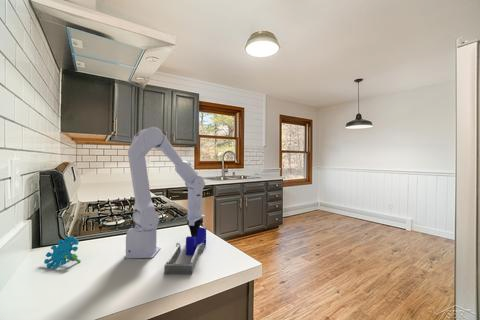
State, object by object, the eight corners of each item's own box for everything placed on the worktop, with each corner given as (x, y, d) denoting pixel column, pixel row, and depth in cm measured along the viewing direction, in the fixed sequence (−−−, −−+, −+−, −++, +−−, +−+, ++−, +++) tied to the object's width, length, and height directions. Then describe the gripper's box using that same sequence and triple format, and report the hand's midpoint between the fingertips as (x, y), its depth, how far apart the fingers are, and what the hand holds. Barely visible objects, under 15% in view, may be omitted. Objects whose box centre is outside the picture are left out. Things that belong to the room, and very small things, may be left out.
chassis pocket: (160, 274, 65) (160, 264, 65) (176, 249, 82) (176, 241, 82) (195, 274, 65) (195, 264, 65) (203, 249, 83) (203, 242, 83)
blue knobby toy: (36, 260, 69) (63, 231, 75) (50, 267, 73) (75, 239, 79) (56, 273, 65) (84, 241, 71) (71, 279, 69) (96, 249, 75)
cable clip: (195, 241, 90) (195, 226, 90) (206, 242, 89) (206, 227, 89) (181, 254, 78) (181, 237, 78) (193, 255, 77) (194, 238, 77)
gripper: (202, 208, 84) (201, 244, 84) (207, 201, 99) (206, 232, 99) (183, 208, 84) (183, 244, 84) (190, 201, 99) (190, 232, 99)
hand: (194, 237), depth 92 cm, fingers closed
